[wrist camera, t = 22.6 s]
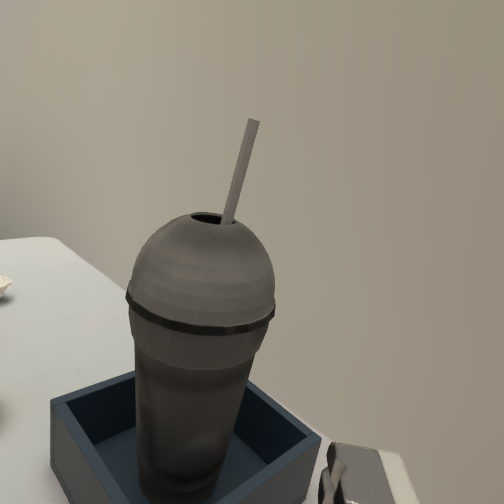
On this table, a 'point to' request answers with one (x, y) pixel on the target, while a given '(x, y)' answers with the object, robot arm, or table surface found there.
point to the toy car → (4, 284)
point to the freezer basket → (125, 448)
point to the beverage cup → (196, 342)
